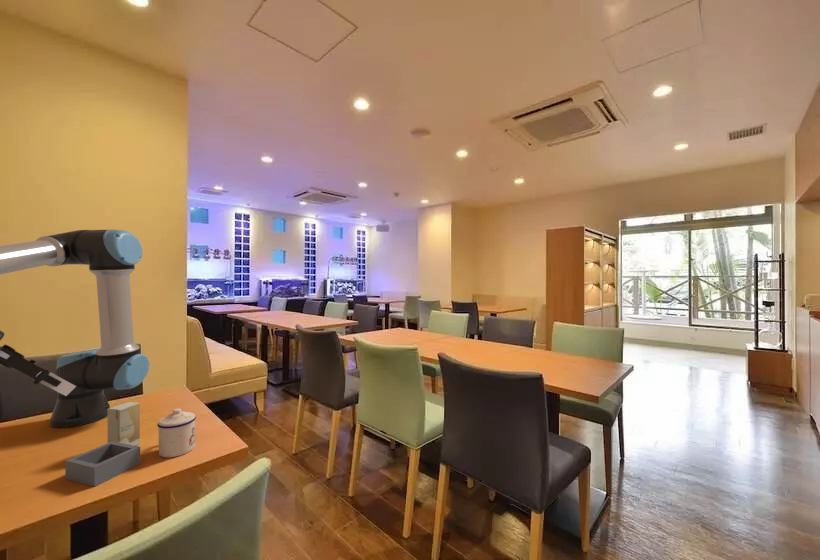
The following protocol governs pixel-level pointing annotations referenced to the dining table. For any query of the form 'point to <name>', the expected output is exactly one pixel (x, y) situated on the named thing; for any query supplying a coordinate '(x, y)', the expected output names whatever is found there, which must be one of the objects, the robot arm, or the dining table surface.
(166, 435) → the teacup with lid
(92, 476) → the tray
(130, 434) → the skincare box
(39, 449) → the dining table surface
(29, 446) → the dining table surface
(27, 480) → the dining table surface
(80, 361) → the robot arm
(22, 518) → the dining table surface
